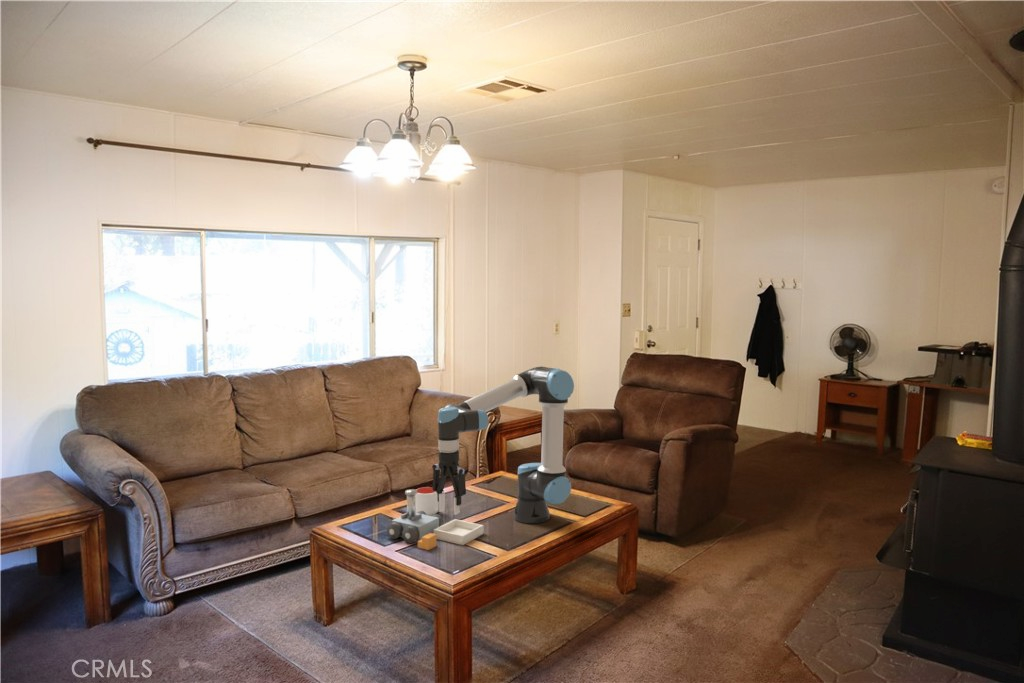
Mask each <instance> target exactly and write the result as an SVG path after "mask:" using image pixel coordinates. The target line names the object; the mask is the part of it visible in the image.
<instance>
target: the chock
mask: <svg viewBox="0 0 1024 683" xmlns="http://www.w3.org/2000/svg"><path fill="white" fill-rule="evenodd" d="M437 540H438V539H436V534H432V533H429V534H427V535H425V536H423V537H422V539H421V540H419V541H417V548H418V549H422V550H427V551H429V550H431V549H434V548H436V547H437V542H438V541H437Z"/></svg>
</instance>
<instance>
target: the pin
mask: <svg viewBox="0 0 1024 683" xmlns="http://www.w3.org/2000/svg"><path fill="white" fill-rule="evenodd" d="M404 494H405V495H406V513H407V519H409V520H412V518H411V517H413V516H415V515H416V494H417V490H416V489H414V488H412V489H410V488H409V489H406V490H405V491H404Z"/></svg>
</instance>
